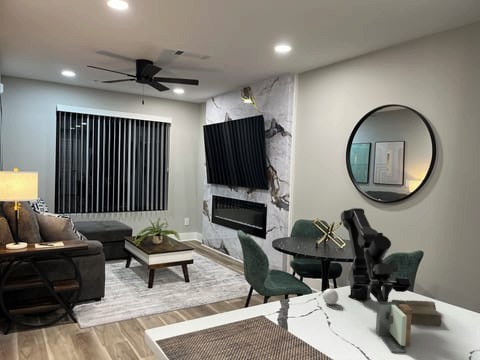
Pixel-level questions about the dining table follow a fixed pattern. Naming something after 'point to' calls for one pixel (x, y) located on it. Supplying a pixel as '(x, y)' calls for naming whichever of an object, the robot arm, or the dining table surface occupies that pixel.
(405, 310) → the post
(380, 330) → the gray bookend
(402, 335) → the pale green slab
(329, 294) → the seamed sphere
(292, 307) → the dining table surface
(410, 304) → the marble piece
